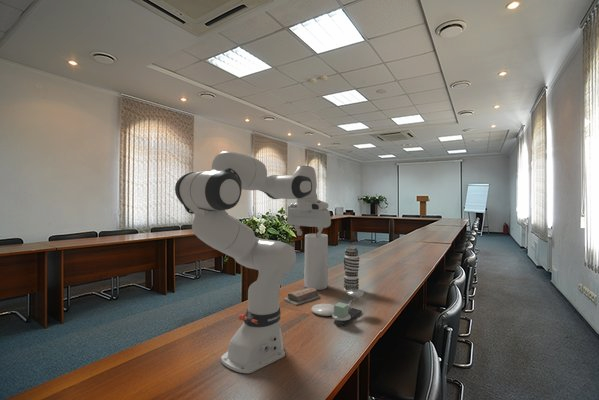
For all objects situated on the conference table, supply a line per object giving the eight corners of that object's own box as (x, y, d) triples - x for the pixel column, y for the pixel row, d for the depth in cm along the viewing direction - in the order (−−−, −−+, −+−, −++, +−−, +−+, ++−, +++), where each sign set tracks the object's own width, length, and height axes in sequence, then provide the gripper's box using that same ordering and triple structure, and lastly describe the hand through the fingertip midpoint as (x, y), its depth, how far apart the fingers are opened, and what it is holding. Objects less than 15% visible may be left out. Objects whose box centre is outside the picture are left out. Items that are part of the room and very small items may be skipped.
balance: (345, 329, 118) (345, 305, 118) (328, 324, 123) (328, 300, 123) (366, 312, 136) (366, 291, 136) (350, 308, 141) (351, 287, 141)
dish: (330, 319, 127) (330, 316, 127) (306, 312, 135) (306, 309, 135) (344, 310, 138) (344, 307, 138) (320, 304, 146) (320, 301, 146)
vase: (321, 292, 165) (321, 237, 165) (299, 288, 173) (300, 235, 172) (331, 285, 177) (332, 234, 177) (311, 282, 185) (311, 233, 185)
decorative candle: (360, 292, 164) (361, 249, 164) (344, 292, 165) (344, 248, 164) (357, 287, 174) (358, 246, 173) (342, 287, 174) (342, 246, 174)
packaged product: (307, 285, 164) (320, 289, 156) (307, 293, 164) (320, 298, 156) (283, 292, 152) (295, 296, 144) (283, 301, 152) (295, 306, 144)
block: (343, 318, 121) (343, 307, 121) (334, 315, 123) (334, 305, 123) (348, 314, 124) (348, 304, 124) (339, 312, 127) (338, 302, 127)
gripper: (283, 204, 125) (285, 235, 127) (324, 206, 114) (325, 240, 115) (291, 202, 130) (293, 232, 132) (331, 204, 119) (333, 236, 120)
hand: (308, 236), depth 123 cm, fingers open, 8 cm apart
